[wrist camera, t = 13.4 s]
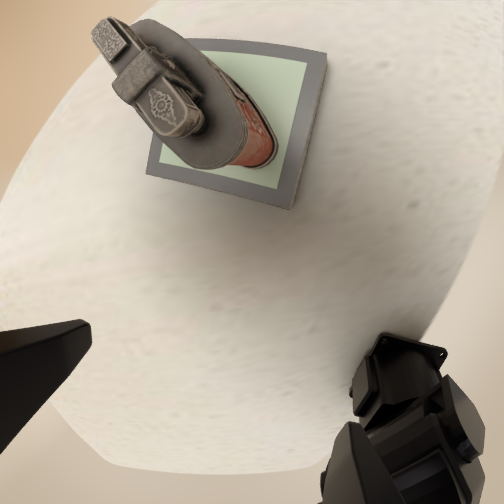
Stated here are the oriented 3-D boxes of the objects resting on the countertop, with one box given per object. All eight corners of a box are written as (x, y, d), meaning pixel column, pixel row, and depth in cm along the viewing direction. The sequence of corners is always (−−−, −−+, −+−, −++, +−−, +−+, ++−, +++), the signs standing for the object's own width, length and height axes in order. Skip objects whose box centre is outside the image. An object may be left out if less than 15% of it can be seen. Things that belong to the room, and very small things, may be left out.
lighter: (292, 147, 16) (245, 117, 7) (246, 181, 17) (154, 197, 8) (213, 54, 16) (118, -19, 6) (174, 88, 17) (60, 45, 7)
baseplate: (327, 64, 16) (326, 52, 14) (292, 206, 19) (288, 210, 17) (190, 47, 18) (177, 38, 16) (160, 173, 21) (144, 174, 19)
